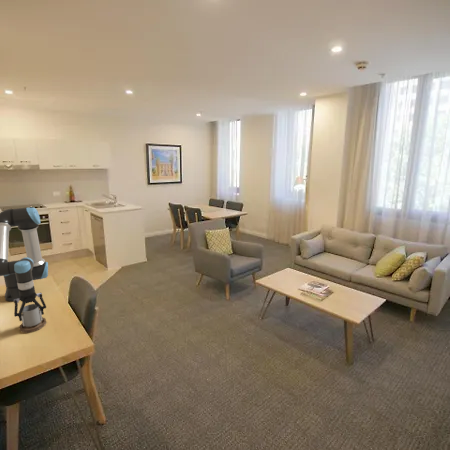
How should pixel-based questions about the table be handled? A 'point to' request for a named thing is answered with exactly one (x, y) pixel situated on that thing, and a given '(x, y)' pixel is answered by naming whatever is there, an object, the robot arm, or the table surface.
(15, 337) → the table surface
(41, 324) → the tray
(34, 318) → the cup
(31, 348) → the table surface
